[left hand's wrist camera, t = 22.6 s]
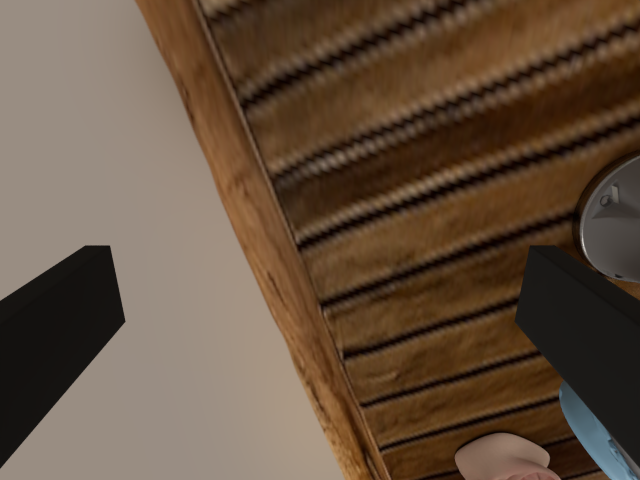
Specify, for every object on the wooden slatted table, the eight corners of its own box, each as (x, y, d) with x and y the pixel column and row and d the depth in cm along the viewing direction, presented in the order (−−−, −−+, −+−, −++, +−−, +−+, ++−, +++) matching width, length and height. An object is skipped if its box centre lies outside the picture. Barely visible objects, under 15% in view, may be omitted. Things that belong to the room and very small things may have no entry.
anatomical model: (449, 488, 55) (511, 440, 52) (441, 463, 59) (498, 416, 55) (513, 528, 58) (575, 484, 55) (501, 501, 61) (559, 459, 58)
